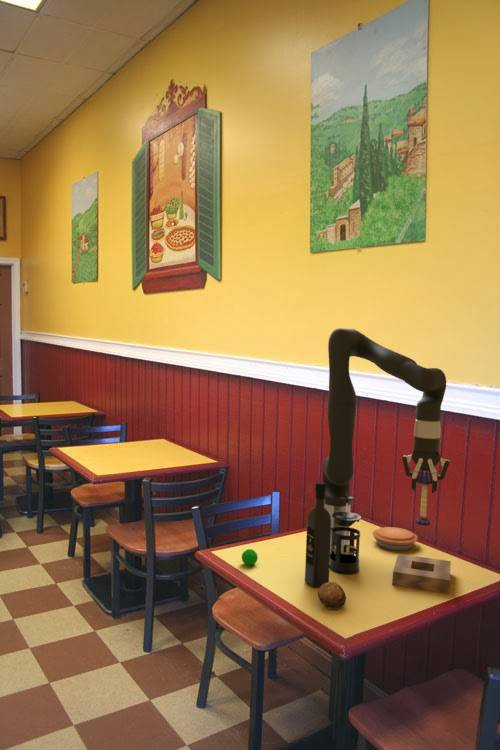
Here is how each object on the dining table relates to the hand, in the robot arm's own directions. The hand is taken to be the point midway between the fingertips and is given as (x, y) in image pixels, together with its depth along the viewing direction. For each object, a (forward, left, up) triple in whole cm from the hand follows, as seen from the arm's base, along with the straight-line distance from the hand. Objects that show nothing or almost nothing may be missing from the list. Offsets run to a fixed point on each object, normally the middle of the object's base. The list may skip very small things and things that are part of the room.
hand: (424, 491), depth 183 cm
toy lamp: (0, 0, -10) cm, 10 cm away
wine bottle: (-28, -15, -28) cm, 42 cm away
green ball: (-51, -9, -28) cm, 59 cm away
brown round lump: (-21, -28, -28) cm, 45 cm away
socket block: (+1, +1, -27) cm, 27 cm away
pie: (-10, +29, -28) cm, 41 cm away
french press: (-23, 0, -28) cm, 36 cm away
